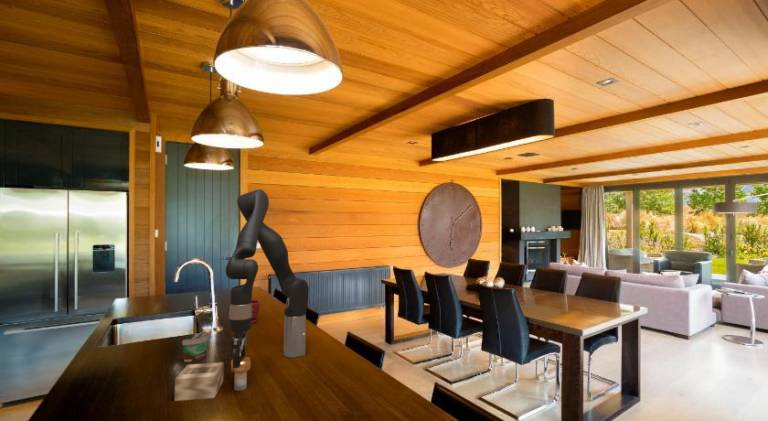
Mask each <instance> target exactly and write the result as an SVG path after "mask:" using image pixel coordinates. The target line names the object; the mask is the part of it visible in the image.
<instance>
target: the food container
mask: <svg viewBox="0 0 768 421" xmlns="http://www.w3.org/2000/svg"><path fill="white" fill-rule="evenodd" d="M209 340H210V337H209V334H208V332H206V331H202V332H201V333H200V334H197V335H194V336H191V337H190V338H189V339H185V338H184V339H182V342H181V343H182V344H181V345H182V346H183V347H182V348H183V364H186V365H190V364H197V363H199V362H200V363H201V362H202V361H205V359H206V356H207V355H206V354H207V344H208V341H209Z"/></svg>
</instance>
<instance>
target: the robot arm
mask: <svg viewBox="0 0 768 421" xmlns="http://www.w3.org/2000/svg"><path fill="white" fill-rule="evenodd" d="M237 197H238V198H237V207H238V209H239V211H240V213H241V214H242V216H243V218H244V219H245V221H246V223H245V224H244V225H243V226H242V228H241V230H240V231H239V234H238V237H237V241H236V246H235V250H234V251H233V254H232V255H231V257H230V258H229V260H228V262H227V264H226V267H225V274H226V276H227V278H228V279H230V280H245V283H243V284H241V285H235V286H233V287H232V288H231V289H230V300H229V301H230V302H229V303H230V304H229V310H228V331H229V332H231V333H234V336H232V338H231V349H230V350H231V353H230V357H231V358H232V360H233V368H239V367H240V357H246V347H247V344H248V332H249V331H250V330H251V329H252V326H253V325H252V324H253V323H252V310H253V308H252V300H253V289H254V288H253V287H254V284H255V280H256V278H257V274H258V271H259V264H258V262H257V261H256V260H255V259H253V257H254V256H255V255H256V253H257V252H256V251H257V246H258V243H259V245H260V247H261V249H262V250H261V251H262V252H263V254H264V256H265V257H266V259H267V261H268V263H269V265H270V267H271V269H272V271H273V273H274V274H275V276H276V279H277V281H278V284H279V287H280V290H281V292H282V294H283V295H284V296H285V297H287V298H289V299H288V306H287V307H285V308H284V311H283V312H284V315H283V316H284V317H283V318H284V319H283V325H284V326H283V356H284V357H286V358H298V357H302V356H303V357H304V356H306V337H307V336H306V334H307V333H306V328H307V327H306V319H307V318H306V317H307V315H306V314H307V309H308V306H309V295H310V294H309V293H310V292H309V290H310V289H309V285H308V282H307V281H306V280H305V279H303V278H300V277H299V278H298V277H296V275H295V274H294V271H293V270H292V268H291V266H290V263H289V262H290V261H289V253H288V248H287V246H286V244H285V241H284V240H283V237H282V236H281V235H280V233H278V232H277V231H276V230H274V229H273V228H271V227H270V226H268V225H267V224H266V223H264V222H265V218H266V214H267V212H268V209H269V206H270V200H269V199H270V198H269V196H268V194H267V193H266V192H265V191H264V190H263V189H255V190H252V191H249V192H246V193H243V194H240V195H239V196H237ZM236 351H237V352H236Z"/></svg>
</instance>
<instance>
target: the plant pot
mask: <svg viewBox="0 0 768 421" xmlns="http://www.w3.org/2000/svg"><path fill="white" fill-rule="evenodd" d="M260 307H261V301H260V300H257V299H252V324H254V323H256V322H257V321H258V315H259V313H260Z"/></svg>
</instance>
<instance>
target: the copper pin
mask: <svg viewBox="0 0 768 421" xmlns="http://www.w3.org/2000/svg"><path fill="white" fill-rule="evenodd" d="M251 364H252V362H251V357H248V356H245V357H240V367H239V368H233V359H231V360H230V371H231V372H232V373H234V379H233V382H234V384H233V390H234V391H239V392H240V391H244V390H246V389H247V383H248V382H247V381H248V380H247V378H248V377H247V376H248V374H247V373H248V371H249V370H250V369H251V366H252V365H251Z"/></svg>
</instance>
